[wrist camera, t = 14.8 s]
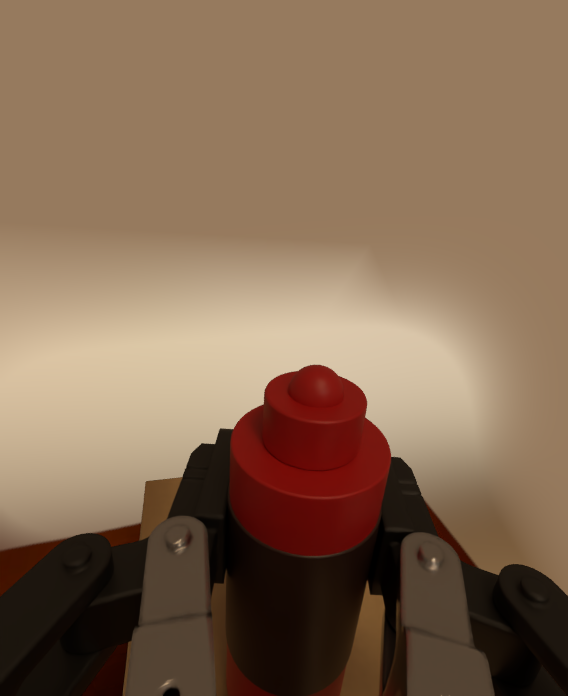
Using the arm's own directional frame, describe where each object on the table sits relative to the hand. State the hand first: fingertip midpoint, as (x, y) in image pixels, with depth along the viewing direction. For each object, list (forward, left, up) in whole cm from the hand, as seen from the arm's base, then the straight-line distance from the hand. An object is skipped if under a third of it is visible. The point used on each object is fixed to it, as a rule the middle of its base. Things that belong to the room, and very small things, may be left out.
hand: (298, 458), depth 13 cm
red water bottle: (+2, +1, -6) cm, 7 cm away
